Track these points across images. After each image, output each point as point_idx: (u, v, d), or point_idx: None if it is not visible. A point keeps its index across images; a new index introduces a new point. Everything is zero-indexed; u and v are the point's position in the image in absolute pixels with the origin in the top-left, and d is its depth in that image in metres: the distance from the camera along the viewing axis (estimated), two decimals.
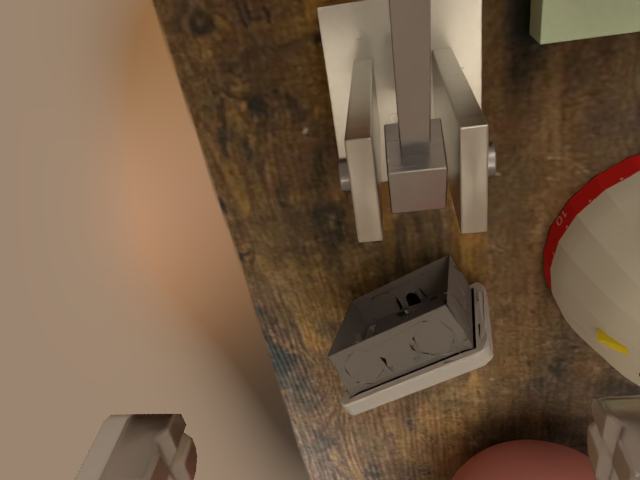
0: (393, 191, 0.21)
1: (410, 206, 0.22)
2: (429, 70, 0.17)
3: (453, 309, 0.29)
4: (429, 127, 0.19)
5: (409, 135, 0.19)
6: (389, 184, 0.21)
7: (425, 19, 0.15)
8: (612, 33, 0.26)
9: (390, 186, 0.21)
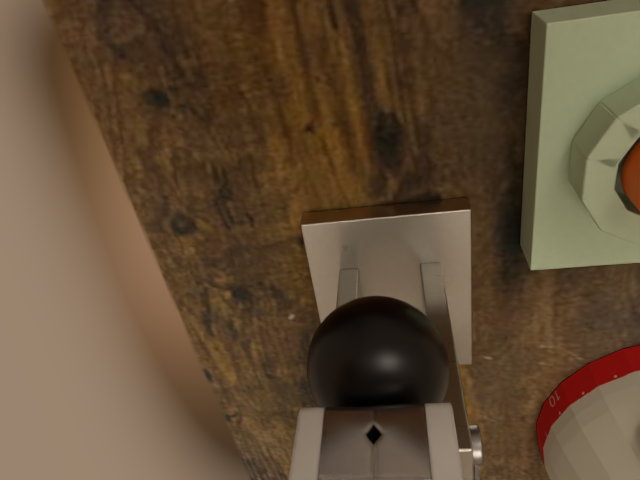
0: None
1: None
2: None
3: None
4: None
5: None
6: None
7: None
8: (605, 263, 0.25)
9: None
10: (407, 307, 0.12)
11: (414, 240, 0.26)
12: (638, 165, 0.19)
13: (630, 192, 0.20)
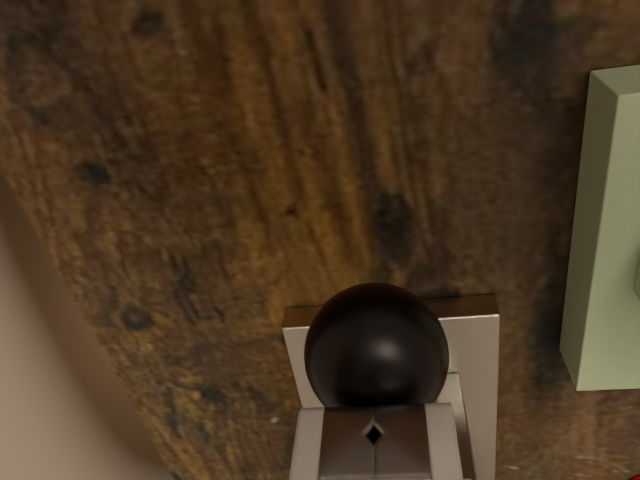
0: None
1: None
2: None
3: None
4: None
5: None
6: None
7: None
8: None
9: None
10: None
11: None
12: None
13: None
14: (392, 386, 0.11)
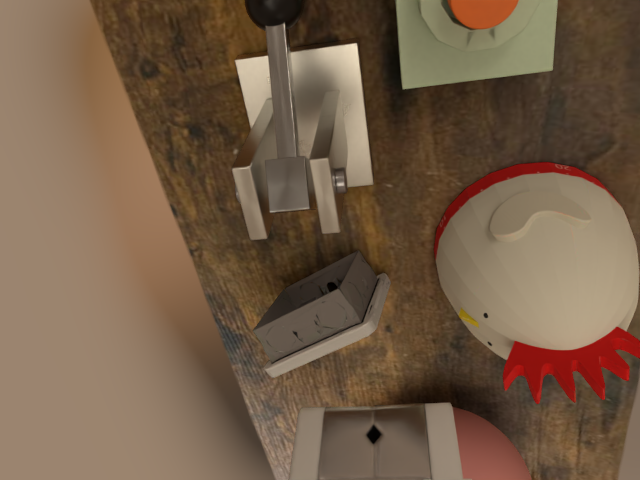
0: (269, 181, 0.29)
1: (282, 203, 0.29)
2: (289, 81, 0.29)
3: (346, 292, 0.37)
4: (294, 130, 0.29)
5: (281, 137, 0.29)
6: (266, 173, 0.29)
7: (284, 45, 0.29)
8: (455, 81, 0.34)
9: (267, 175, 0.29)
10: None
11: (319, 71, 0.35)
12: None
13: (449, 3, 0.29)
14: None
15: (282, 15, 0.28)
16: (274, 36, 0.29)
